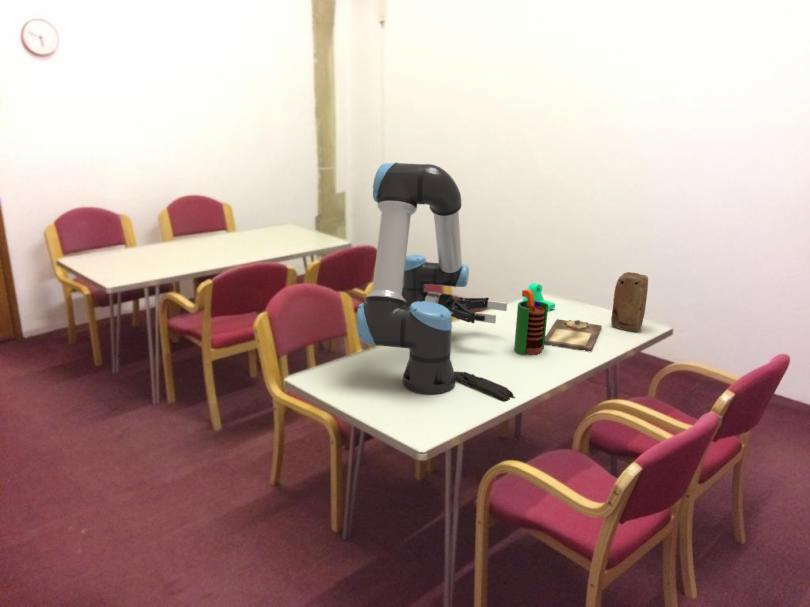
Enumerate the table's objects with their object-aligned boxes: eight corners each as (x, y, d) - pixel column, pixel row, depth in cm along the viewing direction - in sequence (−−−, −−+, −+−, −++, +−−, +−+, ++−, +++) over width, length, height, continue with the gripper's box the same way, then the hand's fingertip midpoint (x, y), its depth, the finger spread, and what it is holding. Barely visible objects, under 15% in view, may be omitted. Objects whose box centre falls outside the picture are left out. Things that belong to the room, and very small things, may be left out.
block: (644, 328, 242) (651, 274, 236) (637, 334, 237) (644, 279, 231) (615, 322, 249) (621, 269, 243) (607, 327, 243) (613, 273, 237)
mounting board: (542, 344, 226) (542, 335, 225) (556, 322, 248) (557, 313, 247) (591, 351, 220) (591, 342, 219) (601, 328, 242) (602, 320, 241)
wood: (522, 396, 188) (522, 386, 187) (505, 403, 183) (506, 393, 182) (463, 373, 203) (463, 363, 202) (446, 379, 198) (446, 369, 197)
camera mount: (535, 315, 255) (537, 289, 252) (520, 310, 261) (521, 285, 257) (555, 310, 262) (557, 284, 259) (540, 305, 268) (542, 280, 265)
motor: (533, 358, 214) (538, 298, 208) (508, 351, 219) (512, 292, 213) (547, 349, 221) (552, 290, 215) (523, 343, 227) (527, 285, 221)
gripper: (451, 304, 240) (510, 312, 232) (426, 326, 218) (489, 335, 211) (452, 284, 238) (511, 291, 230) (427, 304, 216) (491, 313, 208)
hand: (501, 312), depth 220 cm, fingers open, 13 cm apart
